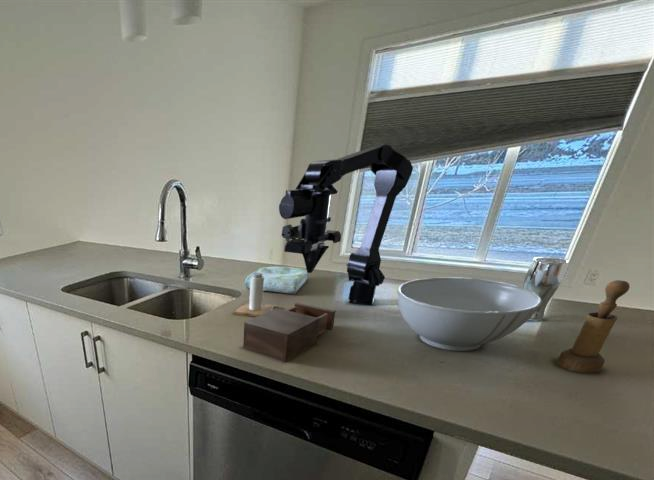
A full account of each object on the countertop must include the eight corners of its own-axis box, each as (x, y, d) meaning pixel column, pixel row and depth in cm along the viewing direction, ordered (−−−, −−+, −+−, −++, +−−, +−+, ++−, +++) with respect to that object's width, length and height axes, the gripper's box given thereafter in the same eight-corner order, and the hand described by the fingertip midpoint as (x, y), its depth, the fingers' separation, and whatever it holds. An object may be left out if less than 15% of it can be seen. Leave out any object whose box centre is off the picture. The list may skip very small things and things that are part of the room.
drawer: (297, 319, 117) (299, 301, 114) (335, 328, 109) (338, 309, 106) (269, 333, 110) (270, 314, 107) (307, 344, 102) (309, 324, 99)
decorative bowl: (538, 372, 83) (563, 316, 77) (389, 357, 94) (402, 307, 88) (503, 325, 104) (520, 279, 98) (384, 317, 115) (394, 275, 109)
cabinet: (274, 332, 112) (276, 307, 109) (315, 344, 103) (319, 318, 100) (243, 347, 105) (244, 322, 102) (285, 361, 96) (287, 334, 93)
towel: (308, 279, 153) (310, 266, 150) (294, 296, 137) (296, 281, 135) (261, 276, 161) (262, 263, 159) (243, 291, 146) (243, 277, 144)
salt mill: (264, 308, 127) (266, 274, 121) (253, 311, 126) (255, 276, 120) (257, 305, 130) (259, 271, 125) (246, 307, 129) (248, 273, 124)
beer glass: (537, 312, 109) (561, 256, 101) (550, 322, 103) (576, 263, 96) (506, 312, 111) (527, 256, 104) (517, 321, 105) (540, 263, 98)
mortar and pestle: (547, 360, 87) (585, 278, 78) (576, 357, 87) (617, 274, 78) (579, 375, 81) (624, 287, 72) (609, 371, 81) (658, 283, 72)
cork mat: (275, 307, 129) (275, 305, 129) (265, 317, 122) (265, 315, 122) (245, 304, 134) (245, 301, 134) (234, 313, 127) (234, 311, 127)
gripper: (309, 208, 118) (303, 262, 125) (269, 218, 108) (265, 275, 116) (346, 209, 110) (337, 267, 117) (306, 220, 100) (299, 281, 108)
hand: (309, 272), depth 115 cm, fingers closed
